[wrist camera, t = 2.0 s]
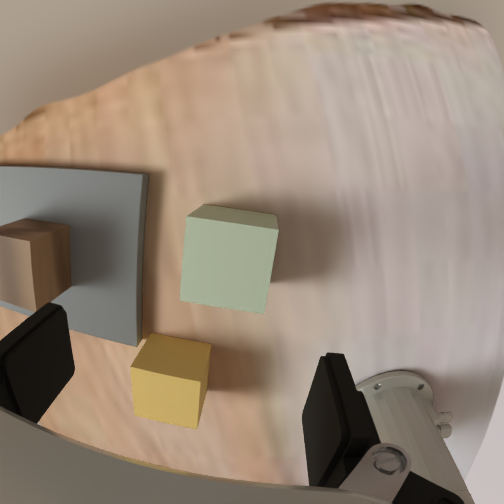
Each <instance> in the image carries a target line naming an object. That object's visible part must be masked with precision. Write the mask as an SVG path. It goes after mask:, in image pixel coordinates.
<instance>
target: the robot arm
mask: <svg viewBox="0 0 504 504" xmlns="http://www.w3.org/2000/svg"><path fill="white" fill-rule="evenodd" d="M74 371H75V365H74V360H73V354H72V348H71V341H70V334H69V327H68V319H67V313H66V311H65V310H64V308H63V306H61V305H58V304H55V303H51V302H48V303H46V304H45V305H44V306H42V307H41V308H40V309H39V310H37V311H36V312H35V313H34V314H32V315H31V316H30V317H29V318H27V319H26V320H25V321H24V322H22V323H21V324H20V325H19V326H17V327H16V328H15V329H14V330H13V331H11V332H10V333H9V334H8V335H7V336H5V337H4V338H3V339H2V340H1V341H0V504H475V503H474V501H473V499H472V497H471V494H470V493H469V491H468V489H467V487H466V485H465V482H464V480H463V478H462V476H461V474H460V472H459V470H458V468H457V466H456V464H455V462H454V460H453V458H452V456H451V454H450V452H449V450H448V448H447V446H446V444H445V442H444V440H443V439H444V438H448V437H449V436H450V435H451V431H452V428H451V425H450V424H440V425H437V424H438V423H448V422H450V421H451V420H452V413H451V412H441V413H437V412H436V411H435V409H434V408H433V401H434V396H433V391H432V389H431V387H430V385H429V384H428V382H427V381H426V380H425V379H424V378H423V377H422V376H420V375H418V374H416V373H413V372H408V371H394V372H387V373H384V374H380V375H377V376H374V377H372V378H370V379H367V380H365V381H363V382H362V383H360V384H358V385H357V386H355V384H354V381H353V378H352V375H351V372H350V370H349V367H348V364H347V361H346V359H345V356H344V354H339V353H327V354H326V356H321V357H320V360H319V363H318V366H317V369H316V373H315V376H314V379H313V382H312V385H311V388H310V391H309V394H308V398H307V401H306V404H305V406H304V409H303V413H302V424H303V433H304V442H305V451H306V460H307V469H308V478H309V486H301V485H286V484H272V483H261V482H252V481H243V480H235V479H227V478H220V477H214V476H207V475H202V474H196V473H191V472H186V471H181V470H176V469H171V468H167V467H163V466H158V465H154V464H150V463H146V462H142V461H139V460H135V459H131V458H128V457H125V456H121V455H118V454H115V453H111V452H108V451H105V450H102V449H99V448H96V447H93V446H90V445H88V444H85V443H82V442H79V441H77V440H74V439H72V438H69V437H66V436H64V435H61V434H59V433H56V432H54V431H52V430H49V429H47V428H45V427H42V426H40V425H38V424H37V423H38V421H39V420H40V419H41V417H42V416H43V415H44V413H45V412H46V410H47V409H48V408H49V406H50V405H51V404H52V402H53V401H54V400H55V398H56V397H57V396H58V394H59V393H60V392H61V390H62V389H63V388H64V387H65V385H66V384H67V383H68V381H69V380H70V379H71V377H72V376H73V374H74Z"/></svg>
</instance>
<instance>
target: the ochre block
mask: <svg viewBox="0 0 504 504" xmlns="http://www.w3.org/2000/svg"><path fill="white" fill-rule="evenodd" d="M210 354H211V344H208V343H202V342H197V341H191V340H186V339H181V338H175V337H170V336H165V335H160V334H156V333H151V334H150V336H149V337H148V339H147V341H146V342H145V344H144V345H143V347H142V349H141V350H140V352H139V354H138V355H137V357H136V358H135V360H134V362H133V363H132V365H131V381H132V393H133V403H134V413H135V415H136V416H140V417H144V418H148V419H152V420H156V421H160V422H164V423H169V424H173V425H178V426H183V427H188V428H193V429H197V428H198V424H199V420H200V416H201V412H202V408H203V404H204V400H205V396H206V392H207V384H208V374H209V364H210Z"/></svg>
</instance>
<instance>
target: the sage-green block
mask: <svg viewBox="0 0 504 504" xmlns="http://www.w3.org/2000/svg"><path fill="white" fill-rule="evenodd" d="M278 232H279V228H278V222H277V217H276V215H273V214H267V213H260V212H254V211H247V210H240V209H233V208H226V207H219V206H212V205H204V204H203V205H202V206H201V207H199V208H198V209H196V210H195V211H194V212H192V213H191V214H189V215H188V216H187V218H186V228H185V238H184V249H183V261H182V274H181V287H180V301H186V302H191V303H197V304H203V305H209V306H215V307H221V308H227V309H234V310H240V311H247V312H254V313H260V314H264V312H265V307H266V301H267V296H268V290H269V284H270V279H271V273H272V267H273V261H274V255H275V250H276V244H277V238H278Z"/></svg>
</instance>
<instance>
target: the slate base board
mask: <svg viewBox="0 0 504 504" xmlns="http://www.w3.org/2000/svg"><path fill="white" fill-rule="evenodd" d="M148 180H149V174H144V173H133V172H121V171H109V170H95V169H81V168H63V167H42V166H10V165H0V226H2V225H5V224H8V223H11V222H14V221H17V220H20V219H23V218H27V219H34V220H40V221H47V222H53V223H60V224H67V225H70V263H71V283H72V287H70V288H69V289H68V290H66V291H65V292H63V293H62V294H61V295H59V296H58V297H57V298H55V299H54V300H53V301H51V303H55V304H58V305H61V306H63V308H64V310H65V311H66V313H67V319H68V327H69V329H71V330H74V331H78V332H81V333H85V334H88V335H92V336H95V337H99V338H103V339H107V340H111V341H114V342H118V343H122V344H126V345H131V346H135V347H137V346H138V345H139V343H140V342H141V340H142V270H143V246H144V229H145V214H146V201H147V190H148ZM0 306H2V307H5V308H7V309H10V310H13V311H16V312H19V313H21V314H24V315H27V316H31V315H32V314H34V313H35V312H33V311H30V310H27V309H24V308H21V307H18V306H15V305H13V304H10V303H7V302H4V301H1V300H0Z"/></svg>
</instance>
